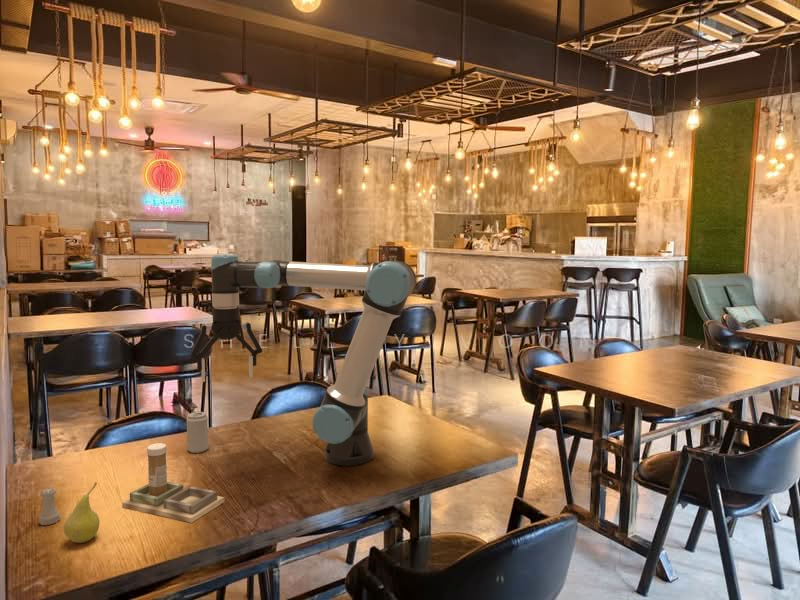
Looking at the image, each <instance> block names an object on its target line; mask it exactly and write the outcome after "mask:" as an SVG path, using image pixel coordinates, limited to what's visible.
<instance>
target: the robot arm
mask: <svg viewBox="0 0 800 600" xmlns="http://www.w3.org/2000/svg"><path fill="white" fill-rule="evenodd" d="M210 263H211V265H210V266H211V267H210V272H211V289H212V290H211V303H212V307H213V309H212V310H211V311H212V324H211V325H209V324H208V325H207V324H201V328H200V334H199V335H198V337H197V339H196V341H195V343H194V345H193V347H192V349H191V352H190V354H189V356H190V357H191V358H192V359H193V358H194V359H196V365H197V367H196V368H197V370H198V371H200V372H201V382H202V383H205V382H206V369H205V368H206V365H205V364H206V363H205V357H204V356H205V355H206V354H207V353H208V351H209V350H210V349H211V348H212V346H213V345H214V344H215V343H216V342H218V340H219V339H220V340H227V339H228V340H233V339H234V338H236V339H237V340H238V341H239V342H240V344H242V345H243V346H244V347H245V348H246V350H247V351H249V353H250V354H248V376H249V378H254V367H255V366H256V367H257V355H259V354H262V353H263V349H262V346H261V345H260V343H259V342H258V340H257V337H256V335H255V333H254V332H253V330H252V325H251V323H250V322H249V321H248V322H247V321H246V322H245V323H241V321H240V308H239V306H240V293H239V292H240V288H255V289H256V288H257V289H261V288H262V289H270V288H271V289H272V288H276V287H277V286H287V287H289V286H290V287H291V286H292V287H305V288H306V287H307V288H323V289H337V290H338V289H339V290H352V291H355V290H356V291H364V293H363V295H362V298H361V303H362V305H363V308H364V309H363V310H362V313H361V316H360V318H359V322H358V323H357V325H356V328H355V331H354V334H353V336H352V338H351V342H350V344H349V347H348V349H347V352H346V355H345V357H344V360H343V362H342V364H341V367H340V370H339V372H338V374H337V378H336V380H335V382H334V384H333V385H330V386H328V387H327V389H326V391H325V394H324V396H323V399H322V401H321V403H320V406H319V407H318V408H317V409H316V410H315V411H314V413H313V416H312V421H311V422H312V428H313V431H314V432H315V434H316V436H317V437H318V438H319V439H320V440H322V441H323V442H326V447H325V449H324V456H325V457H324V459H325V461H326V462H327V463H329V464H332V465H337V466H343V467H345V466H347V467H348V466H350V467H351V465H352V466H359V465H358V464H360V465H363V463H364V464H367V463H369V462H370V461H372V460H373V459H372V458H374V447H373V444H372V441H371V439H370V435H369V426H368V425H369V423H368V421H369V416H368V415H369V392H368V388H367V385H368V383H369V381H370V377H371V376H372V372H373V370H374V368H375V366H376V363H377V361H378V358H379V355H380V353H381V351H382V348H383V345H384V343H385V340H386V337H387V335H388V332H389V330H390V327H391V326H392V322H393V320H395V319H397V318H399V317H401V315H402V312H403V310H404V307H405V305H406V303H407V300H408V298H409V297H410V296H411V294H413V292H415V291H414V290H415V289H416V287H417V276H416V272H415V271H414V269H413V268H412V267H411V266H410V265H409V264H408V263H407V262H404V261H401V260H389V261H383V262H372V263H371V264H370V265H365V264H347V263H346V264H343V263H341V264H340V263H325V262H310V261H309V262H308V261H307V262H305V261H287V260H280V259H278V260H277V259H275V260H262V261H242V260H241V261H240V260H239V256H238V255H237V254H214V255H213V256H212V257H211V262H210ZM242 329H243V330H244V331H246V333H247V335H248V337H249V338H250V340H251V342H252V344H253V345H254V347H255V349H254V348H252V347H251V345H250V344H249V343H248V342H247V341H246V340H245V339H244V338H243V336H241V335H240V334H239V332H240V331H241V330H242ZM210 330H211V331H212V332H213V334H212V336H211V338H210V339H209V340H208V342H206V344H205V345H204V346H203V348H201V350H200V347H201V345H202V343H203V340H204V339H205V337H206V335H207V333H209V332H210ZM198 351H199V352H198ZM371 459H372V460H371ZM368 461H369V462H368ZM366 462H367V463H366Z"/></svg>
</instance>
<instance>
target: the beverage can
mask: <svg viewBox="0 0 800 600" xmlns="http://www.w3.org/2000/svg"><path fill="white" fill-rule="evenodd" d="M208 421H209V420H208V416H207V412H204V411H195V412H191V413H188V414H187V417H186V438H187V441H186V442H187V447H186V448H187V451H189V452H190V453H191V454H200V453H204V452H206V451H207V450H208V449H209V423H208Z"/></svg>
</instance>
